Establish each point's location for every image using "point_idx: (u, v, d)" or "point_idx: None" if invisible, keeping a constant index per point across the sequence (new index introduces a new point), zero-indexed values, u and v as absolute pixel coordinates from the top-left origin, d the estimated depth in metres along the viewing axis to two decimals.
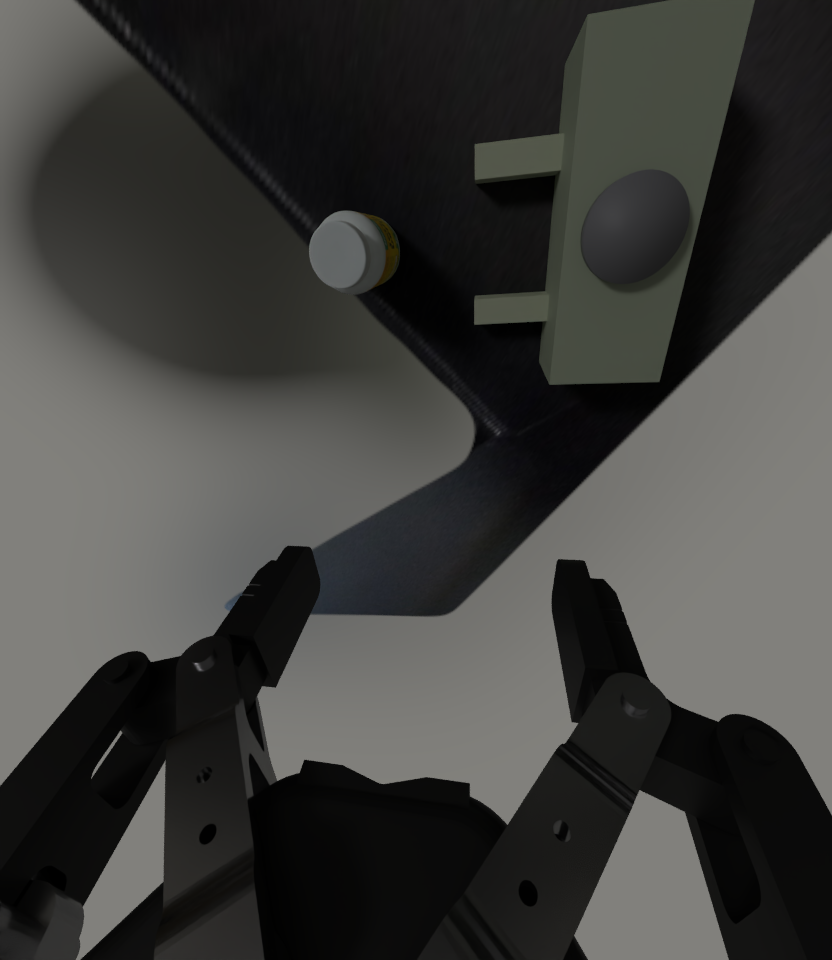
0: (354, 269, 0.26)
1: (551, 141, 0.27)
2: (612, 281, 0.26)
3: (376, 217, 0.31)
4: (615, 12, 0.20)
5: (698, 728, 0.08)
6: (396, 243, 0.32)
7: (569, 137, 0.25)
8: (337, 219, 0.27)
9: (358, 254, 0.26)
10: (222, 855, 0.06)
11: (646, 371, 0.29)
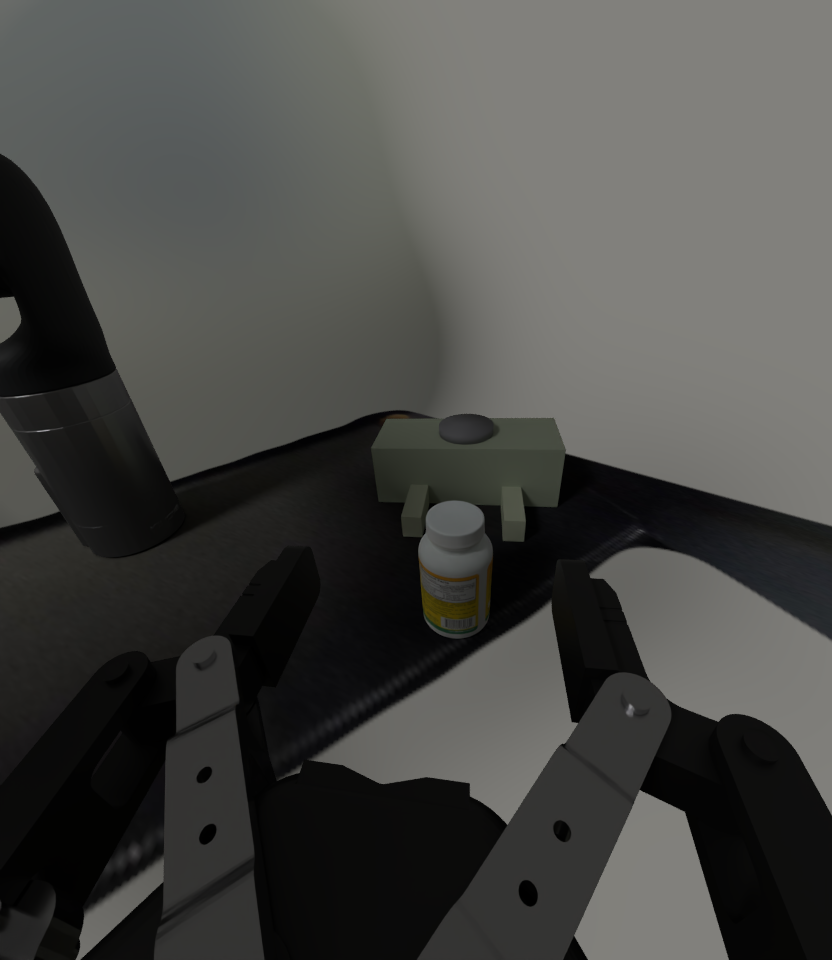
0: (468, 508, 0.27)
1: (412, 488, 0.43)
2: (491, 427, 0.42)
3: None
4: (374, 442, 0.43)
5: (698, 728, 0.08)
6: None
7: (414, 465, 0.42)
8: (424, 541, 0.28)
9: (456, 504, 0.28)
10: (222, 855, 0.06)
11: (547, 421, 0.45)
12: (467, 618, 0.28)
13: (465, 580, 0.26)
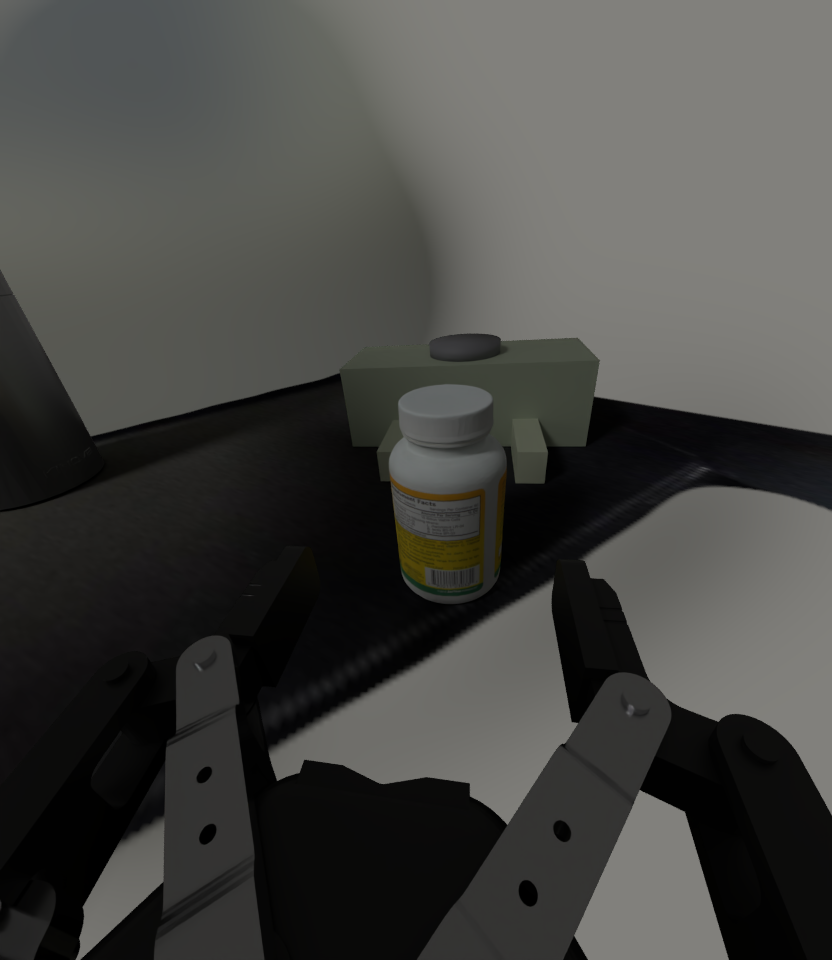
0: (466, 390, 0.17)
1: (395, 423, 0.33)
2: (498, 341, 0.32)
3: None
4: (345, 364, 0.33)
5: (698, 728, 0.08)
6: None
7: (397, 392, 0.32)
8: (398, 446, 0.18)
9: (448, 387, 0.18)
10: (222, 855, 0.06)
11: (570, 340, 0.35)
12: (466, 569, 0.18)
13: (462, 498, 0.16)
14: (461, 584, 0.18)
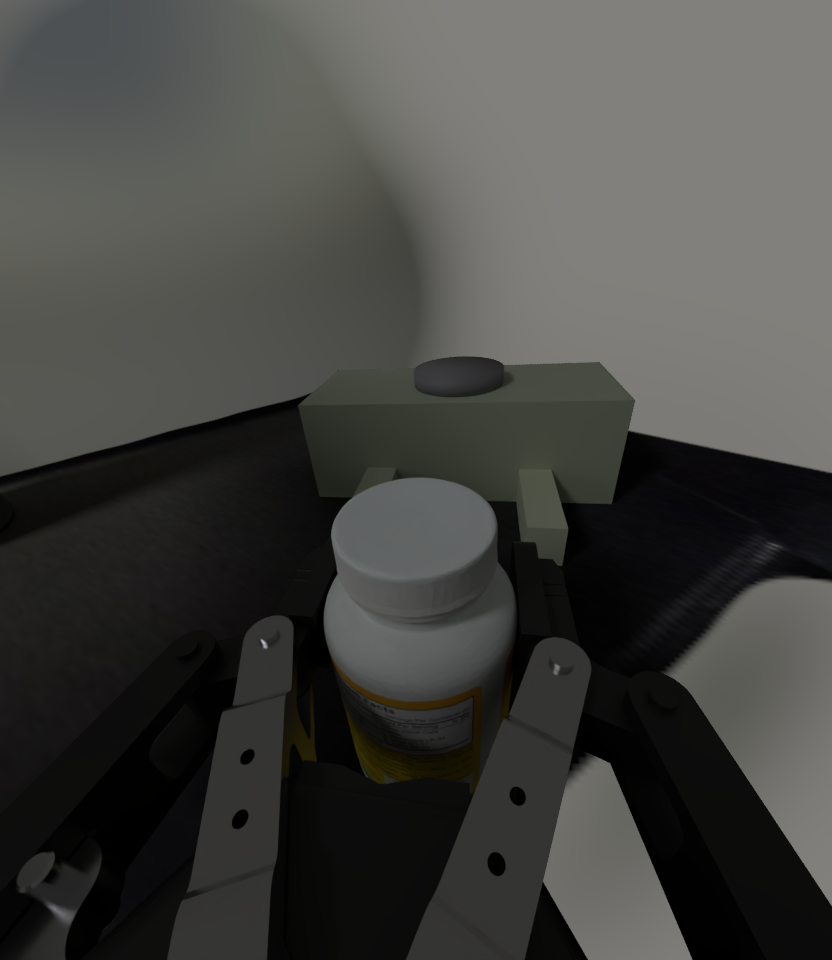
0: (452, 495, 0.10)
1: (370, 473, 0.26)
2: (501, 370, 0.25)
3: None
4: (307, 398, 0.26)
5: (617, 685, 0.08)
6: None
7: (372, 434, 0.25)
8: (339, 583, 0.11)
9: (423, 486, 0.11)
10: (249, 846, 0.06)
11: (590, 366, 0.28)
12: None
13: (442, 705, 0.09)
14: None
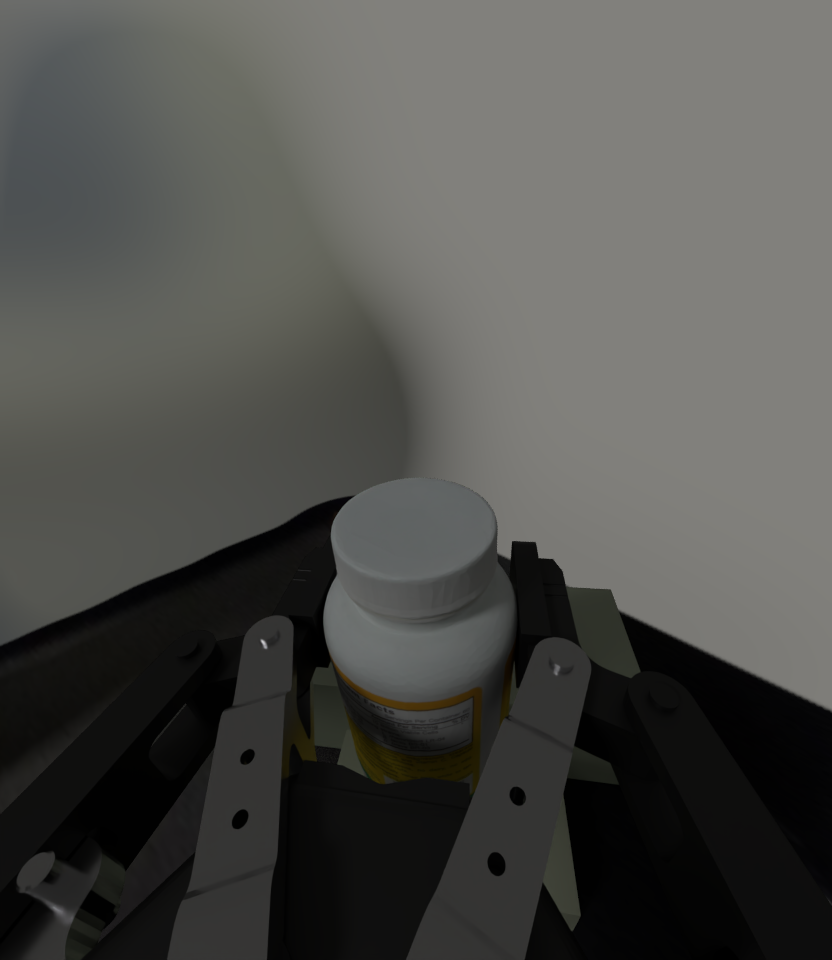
0: (452, 495, 0.10)
1: (348, 744, 0.22)
2: None
3: None
4: None
5: (617, 685, 0.08)
6: None
7: None
8: (338, 583, 0.11)
9: (422, 486, 0.11)
10: (248, 846, 0.06)
11: (600, 601, 0.24)
12: None
13: (442, 705, 0.09)
14: None
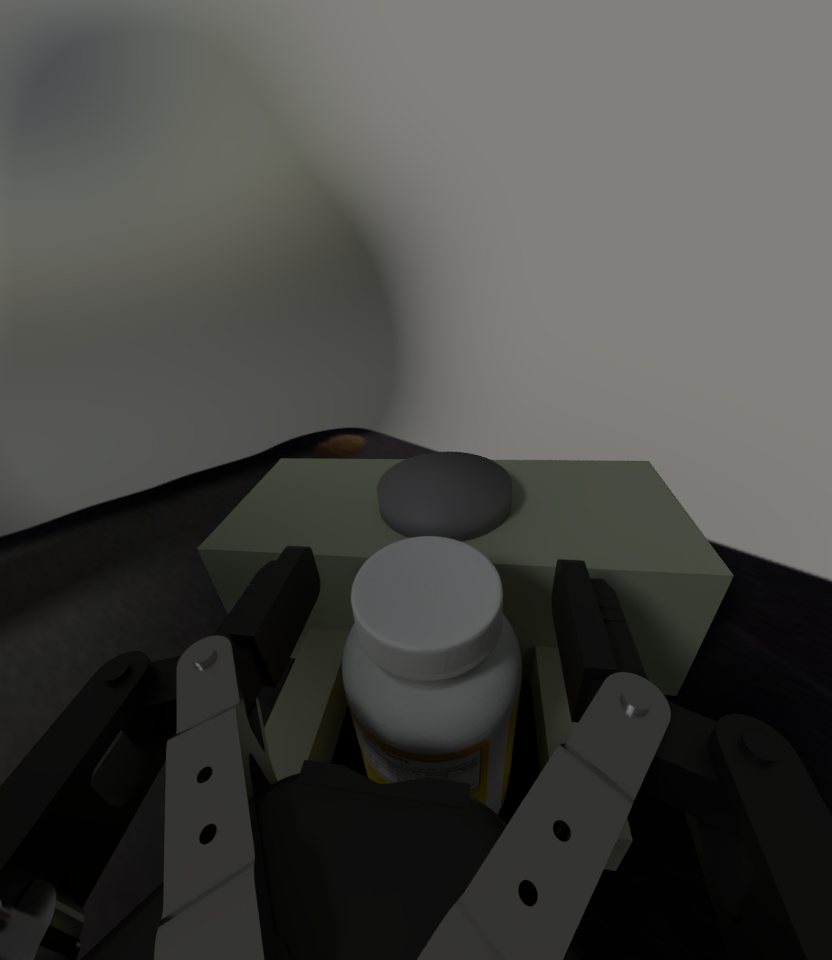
0: (461, 557, 0.11)
1: (310, 643, 0.17)
2: (508, 493, 0.16)
3: None
4: (218, 528, 0.17)
5: (697, 728, 0.08)
6: None
7: None
8: (356, 636, 0.11)
9: (433, 546, 0.11)
10: (222, 855, 0.06)
11: (637, 471, 0.19)
12: None
13: (453, 757, 0.10)
14: None
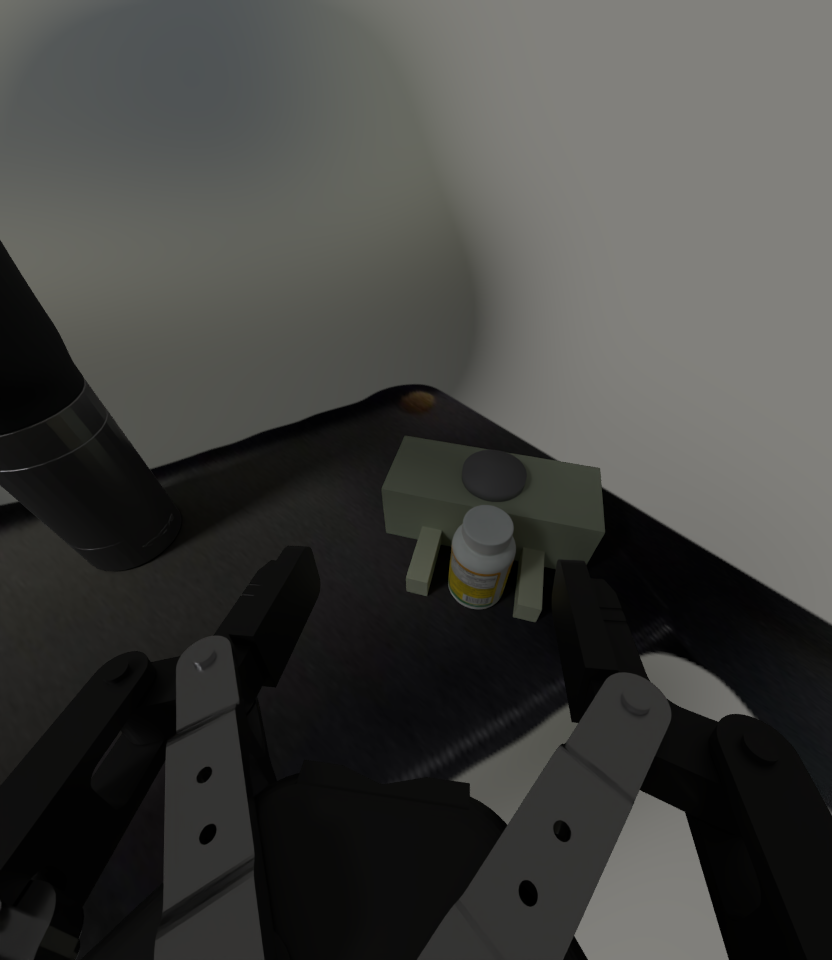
0: (500, 515, 0.31)
1: (423, 533, 0.39)
2: (523, 482, 0.36)
3: None
4: (386, 478, 0.38)
5: (698, 728, 0.08)
6: None
7: (428, 512, 0.37)
8: (458, 536, 0.32)
9: (491, 510, 0.32)
10: (222, 855, 0.06)
11: (591, 474, 0.38)
12: (484, 598, 0.34)
13: (489, 575, 0.31)
14: (480, 603, 0.35)
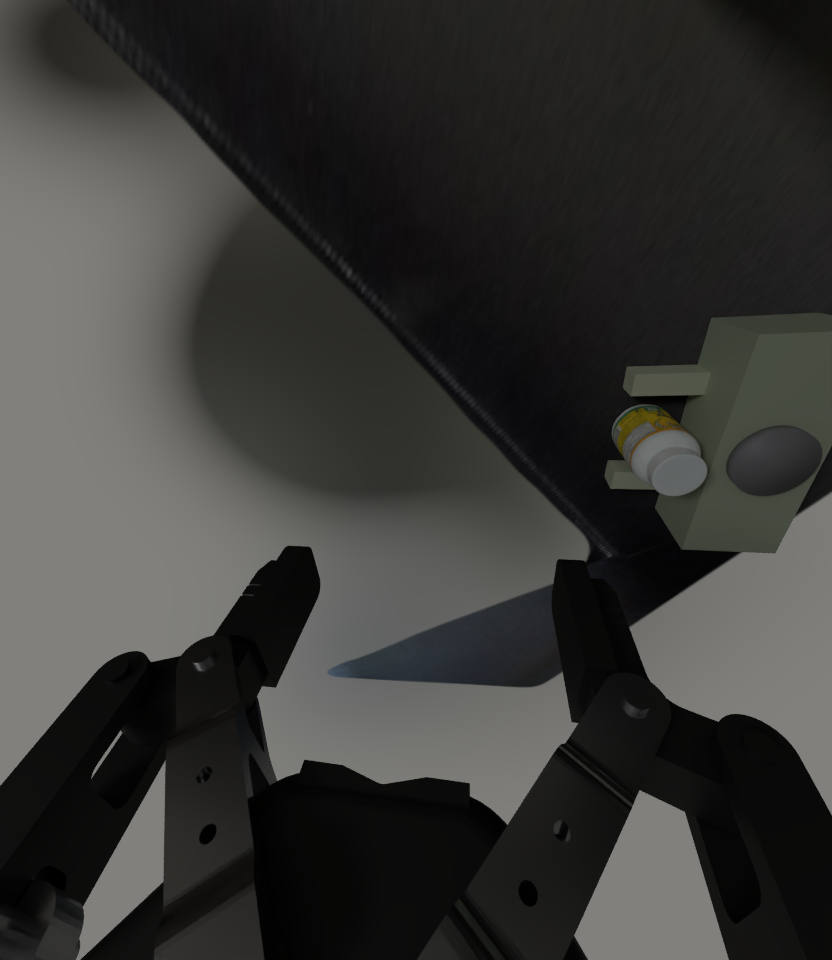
0: (690, 485, 0.32)
1: (699, 376, 0.34)
2: (751, 493, 0.33)
3: (666, 413, 0.36)
4: (781, 335, 0.28)
5: (698, 728, 0.08)
6: None
7: (722, 388, 0.32)
8: (672, 440, 0.32)
9: (699, 477, 0.31)
10: (221, 855, 0.06)
11: (765, 545, 0.36)
12: (617, 446, 0.38)
13: (630, 465, 0.35)
14: (614, 440, 0.39)
